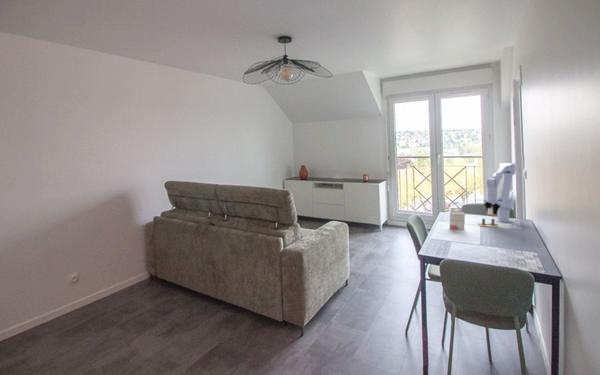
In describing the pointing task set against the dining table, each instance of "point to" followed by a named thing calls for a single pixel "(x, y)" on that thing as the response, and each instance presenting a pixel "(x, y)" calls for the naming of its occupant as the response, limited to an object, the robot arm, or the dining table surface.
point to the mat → (503, 224)
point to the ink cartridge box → (457, 218)
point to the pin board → (487, 224)
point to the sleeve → (490, 212)
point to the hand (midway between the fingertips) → (491, 213)
